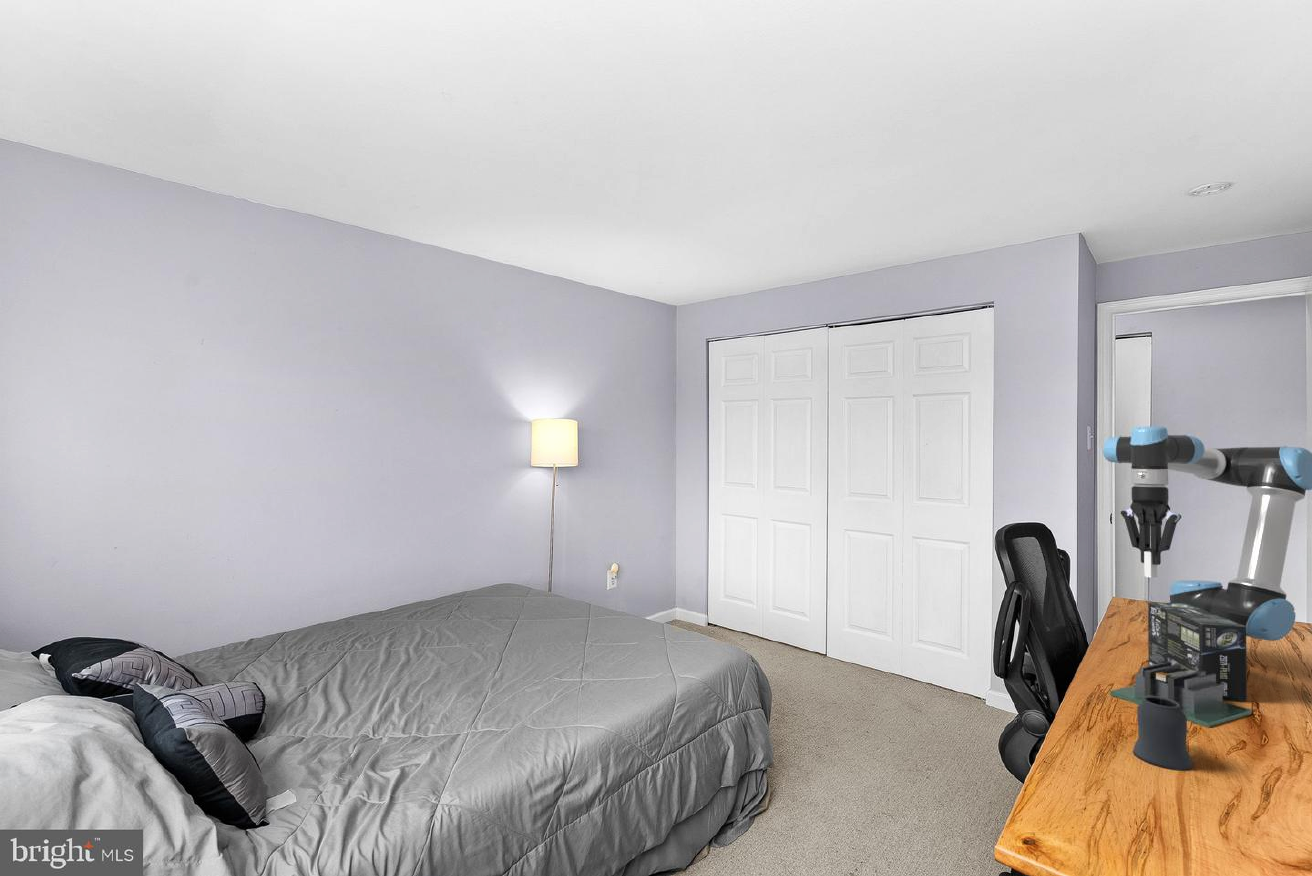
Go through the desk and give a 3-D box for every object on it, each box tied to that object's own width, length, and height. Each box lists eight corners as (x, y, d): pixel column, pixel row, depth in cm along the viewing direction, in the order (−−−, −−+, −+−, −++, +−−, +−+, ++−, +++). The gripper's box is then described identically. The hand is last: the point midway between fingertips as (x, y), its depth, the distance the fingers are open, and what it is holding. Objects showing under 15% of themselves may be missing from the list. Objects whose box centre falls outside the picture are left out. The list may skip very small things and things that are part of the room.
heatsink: (1152, 684, 161) (1152, 653, 161) (1251, 714, 142) (1250, 679, 143) (1110, 694, 153) (1109, 662, 154) (1208, 727, 135) (1208, 690, 135)
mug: (1195, 775, 114) (1194, 714, 114) (1133, 760, 120) (1132, 702, 120) (1189, 751, 124) (1188, 695, 124) (1132, 738, 129) (1131, 684, 129)
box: (1249, 703, 149) (1248, 624, 150) (1201, 699, 151) (1200, 622, 152) (1187, 671, 172) (1186, 602, 172) (1147, 668, 174) (1146, 600, 174)
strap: (1190, 672, 153) (1190, 666, 153) (1204, 676, 150) (1204, 669, 150) (1154, 678, 146) (1154, 672, 146) (1167, 682, 144) (1167, 676, 144)
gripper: (1113, 484, 165) (1114, 573, 164) (1170, 487, 153) (1172, 582, 152) (1130, 484, 168) (1131, 571, 167) (1187, 486, 156) (1189, 580, 155)
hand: (1150, 576), depth 160 cm, fingers closed
